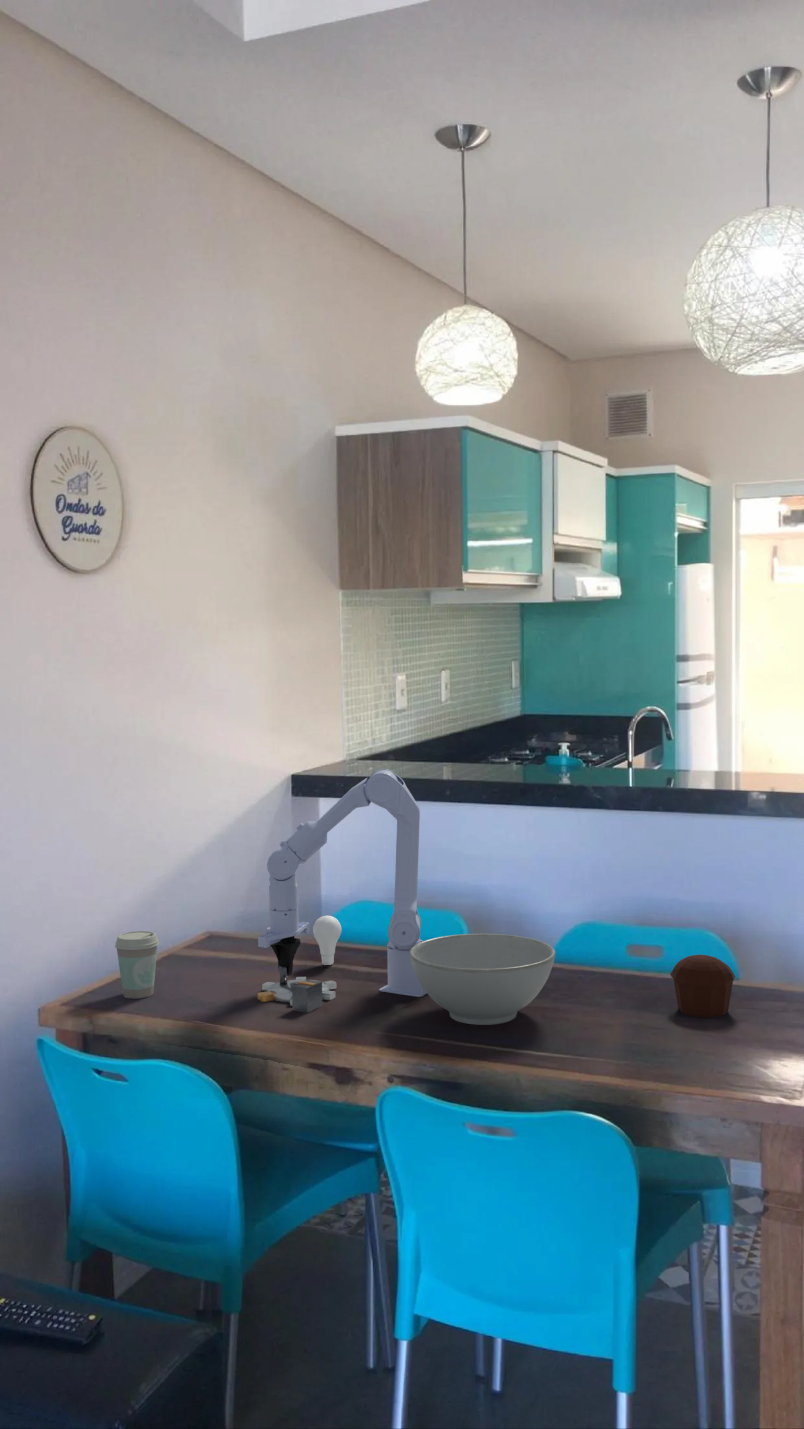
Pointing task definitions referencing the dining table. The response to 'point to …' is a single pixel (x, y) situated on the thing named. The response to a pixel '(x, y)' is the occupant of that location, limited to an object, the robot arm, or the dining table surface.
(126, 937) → the coffee cup
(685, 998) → the muffin
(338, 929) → the lightbulb
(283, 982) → the sprocket
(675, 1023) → the dining table surface
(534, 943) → the decorative bowl
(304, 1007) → the banded cube
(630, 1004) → the dining table surface
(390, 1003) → the dining table surface
